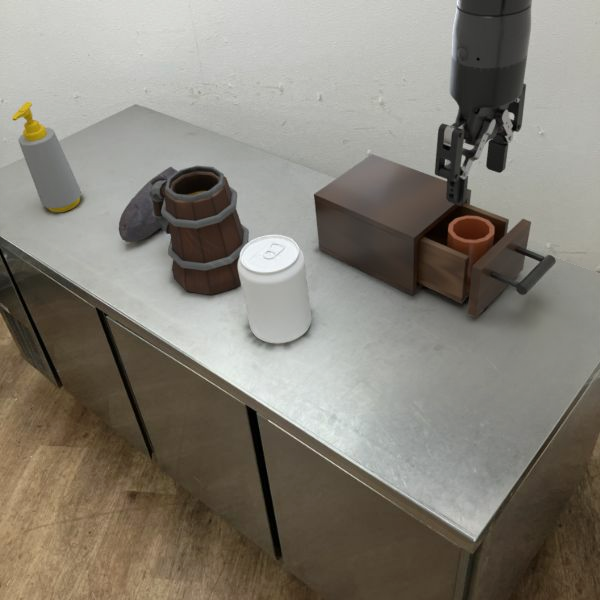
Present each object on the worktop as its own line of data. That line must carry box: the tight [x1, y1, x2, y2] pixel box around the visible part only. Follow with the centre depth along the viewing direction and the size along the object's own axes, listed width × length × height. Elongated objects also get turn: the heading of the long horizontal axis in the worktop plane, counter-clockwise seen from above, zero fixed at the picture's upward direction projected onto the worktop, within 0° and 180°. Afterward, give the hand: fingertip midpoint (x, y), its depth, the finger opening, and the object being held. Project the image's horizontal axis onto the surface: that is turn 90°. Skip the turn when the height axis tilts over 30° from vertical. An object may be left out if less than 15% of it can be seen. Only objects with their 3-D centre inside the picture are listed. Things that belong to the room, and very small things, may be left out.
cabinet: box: [313, 153, 472, 297], centre depth 91 cm, size 17×13×10 cm
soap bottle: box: [11, 101, 82, 213], centre depth 106 cm, size 7×7×18 cm
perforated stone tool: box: [118, 166, 179, 243], centre depth 102 cm, size 15×5×7 cm, turn 147°
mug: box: [149, 165, 250, 296], centre depth 91 cm, size 16×12×15 cm
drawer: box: [417, 203, 557, 319], centre depth 84 cm, size 20×12×8 cm, turn 47°
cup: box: [447, 216, 495, 285], centre depth 83 cm, size 6×6×7 cm
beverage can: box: [238, 234, 312, 344], centre depth 81 cm, size 8×8×12 cm
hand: (476, 185), depth 77 cm, fingers open, 8 cm apart
